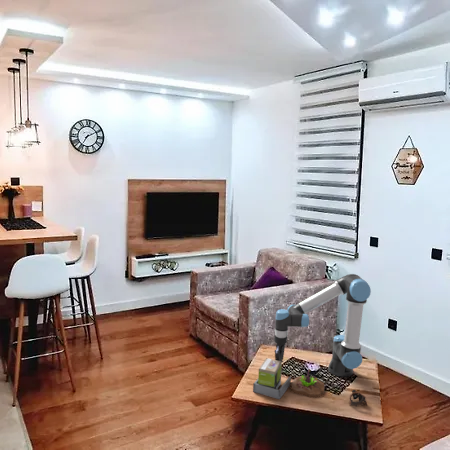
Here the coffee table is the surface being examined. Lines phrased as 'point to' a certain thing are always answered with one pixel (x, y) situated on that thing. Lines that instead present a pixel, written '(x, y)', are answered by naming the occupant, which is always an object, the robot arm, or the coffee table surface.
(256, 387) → the box
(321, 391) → the plant
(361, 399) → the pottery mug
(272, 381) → the tea box
